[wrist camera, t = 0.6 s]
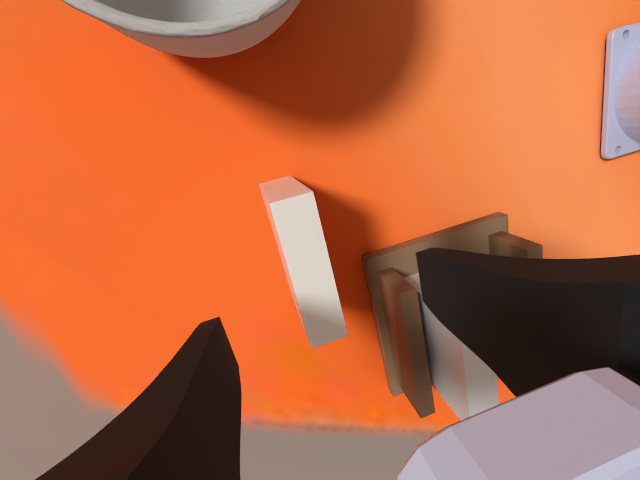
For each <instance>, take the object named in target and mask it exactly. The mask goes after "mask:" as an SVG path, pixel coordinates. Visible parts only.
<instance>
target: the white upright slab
mask: <svg viewBox="0 0 640 480" xmlns="http://www.w3.org/2000/svg"><path fill="white" fill-rule="evenodd" d="M259 186H260V189H261V193H262V196H263V199H264V203H265V206H266V209H267V213H268V216H269V220H270V223H271V226H272V230H273V233H274V237H275V240H276V243H277V247H278V250H279V253H280V257H281V260H282V264H283V267H284V270H285V274H286V277H287V280H288V284H289V287H290V291H291V294H292V297H293V299H294V302H295V305H296V308H297V310H298V313H299V316H300V319H301V321H302V324H303V327H304V330H305V332H306V335H307V338H308V341H309V343H310V346H311V349H313V348H315V347H318V346H321V345H324V344H327V343H329V342H332V341H335V340H338V339H341V338H343V337H346V336H348V333H347V329H346V325H345V321H344V317H343V313H342V309H341V304H340V300H339V296H338V292H337V288H336V284H335V280H334V276H333V271H332V267H331V263H330V259H329V255H328V251H327V247H326V243H325V238H324V234H323V230H322V226H321V222H320V218H319V214H318V210H317V205H316V201H315V197H314V193H313V191H312V190H310V189H309V188H308V187H306V186H305V185H303V184H302V183H300V182H299V181H297V180H296V179H294V178H293V177H292V176H287V177H283V178H280V179H276V180H272V181H268V182H265V183H261V184H259Z"/></svg>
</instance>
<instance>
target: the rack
mask: <svg viewBox="0 0 640 480" xmlns="http://www.w3.org/2000/svg"><path fill="white" fill-rule="evenodd" d="M428 248H446V249H454V250H461V251H468V252H475V253H482V254H490V255H498V256H508V257H518V258H534V259H542V245H540V244H537V243H535V242H532V241H529V240H526V239H523V238H520V237H518V236H515V235H512V234H509V233H508V217H507V214H504V213H500V212H497V213H494V214H491V215H488V216H485V217H481V218H478V219H475V220H472V221H469V222H466V223H463V224H460V225H456V226H453V227H450V228H447V229H444V230H441V231H438V232H434V233H431V234H428V235H425V236H422V237H419V238H416V239H412V240H409V241H406V242H403V243H400V244H397V245H394V246H390V247H387V248H384V249H381V250H378V251H375V252H372V253H368V254H365V255H362V260H363V265H364V270H365V275H366V280H367V285H368V290H369V294H370V299H371V304H372V309H373V314H374V319H375V323H376V328H377V333H378V338H379V343H380V348H381V353H382V357H383V362H384V367H385V372H386V377H387V382H388V387H389V390H390V391H391V393H392V395H393V396H397V395H399V394H402V393H405V395H406V397H407V398H408V400H409V401H410V403H411V404H412V406H413V407H414V409H415V410H416V412H417V413H418V415H419V416H420V418H423V417H425V416H428V415H430V414H433V413H435V408H434V401H433V394H432V388H431V381H430V374H429V368H428V361H427V354H426V348H425V341H424V335H423V328H422V321H421V315H420V308H419V301H418V295H417V288H416V287H414V286H413V285H412V284H411V283H410V282H408V281H407V280H406V279H405V278H404V277H407V276H410V275H413V274H416V273H419V272H418V265H417V258H416V252H419V251H422V250H425V249H428Z"/></svg>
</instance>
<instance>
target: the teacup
mask: <svg viewBox="0 0 640 480" xmlns="http://www.w3.org/2000/svg"><path fill="white" fill-rule="evenodd" d="M61 1H63V2H65V3H66V4H68V5H70V6H71V7H73V8H75V9H77V10H79V11H81V12H83V13H86V14H88V15H90V16H92V17H94V18H96V19H98V20H100V21H102V22H104V23H105V24H107V25H108V26H110V27H112V28H114V29H115V30H117V31H119V32H121V33H122V34H124V35H126V36H128V37H130V38H132V39H134V40H136V41H138V42H140V43H142V44H144V45H147V46H149V47H152V48H154V49H157V50H160V51H163V52H167V53H170V54H175V55H180V56H186V57H194V58H214V57H221V56H227V55H231V54H235V53H238V52H241V51H243V50H246V49H248V48H251V47H253V46H254V45H256V44H258V43H260V42H261V41H263V40H264V39H266V38H267V37H269V36H270V35H271V34H272V33H274V32H275V31H276V30H277V29H278V28H279V27H280V26H281V25H282V24H283V23H284V22H285V21H286V20H287V19H288V17H289V16H290V15H291V14H292V12H293V11H294V10H295V8H296V7H297V5H298V4H299V2H300V1H301V0H61Z"/></svg>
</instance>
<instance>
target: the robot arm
mask: <svg viewBox="0 0 640 480" xmlns="http://www.w3.org/2000/svg"><path fill="white" fill-rule="evenodd" d="M638 150H640V22H639V23H635V24H631V25H626V26H622V27H618V28H615V29H612V30H611V31H610V32H609V34H608V36H607V43H606V62H605V81H604V100H603V120H602V139H601V156H602V158H604V159H612V158H615V157H618V156H622V155H625V154H628V153H631V152H634V151H638ZM416 258H417V265H418V272H419V279H420V286H421V293H422V300H423V302H424V303H425V305H426V306H427V307H428V308H429V310H430V311H431V312H432V313H433V315H434V316H435V317H436V318H437V319H438V320H439V321H440V322H441V323H442V324H443V325H444V326H445V327H446V328H447V329H448V330H449V331H450V332H451V333H452V334H453V335H455V336H456V337H457V338H458V339H459V340H460V341H461V342H462V343H463V344H464V345H466V346H467V347H468V348H469V349H470V350H471V351H472V352H473V353H474V354H475V355H477V356H478V357H479V358H480V359H481V360H482V361H483V362H484V363H485V364H486V365H487V366H488V367H489V368H490V369H491V370H492V371H493V372H494V373H495V374H496V375H497V376H498V377H499V378H500V379H501V380H502V382H503V383H504V384H505V385H506V386H507V387H508V388H509V389H510V391H511V392H512V393H513V394H514V395H515V396H516V398H513V399H511V400H509V401H506V402H504V403H501V404H499V405H497V406H494V407H492V408H489V409H487V410H485V411H482V412H480V413H478V414H475V415H473V416H470V417H468V418H466V419H463V420H461V421H459V422H456V423H454V424H451V425H449V426H447V427H445V428H443V429H442V430H440V431H439V432H437V433H436V434H434V435H433V436H431V437H430V438H428V439H427V440H425V441H424V442H422V443H421V444H419V445H418V446H417V448H416V449H415V451H414V452H413V454H412V455H411V456H410V458H409V459H408V461H407V462H406V463H405V465H404V466H403V468H402V469H401V471H400V473H399V475H398V479H397V480H640V255H630V256H620V257H607V258H590V259H534V258H518V257H508V256H498V255H490V254H482V253H475V252H468V251H461V250H454V249H446V248H428V249H425V250H422V251H419V252H416ZM240 431H241V384H240V375H239V366H238V363H237V361H236V358H235V356H234V353H233V351H232V348H231V345H230V343H229V340H228V338H227V335H226V333H225V330H224V327H223V325H222V322H221V320H220V317H217V318H214V319H211V320H208V321H205V322H202V323H200V324H199V325H198V327H197V328H196V329H195V330H194V332H193V333H192V334H191V335H190V337H189V338H188V339H187V341H186V342H185V343H184V345H183V346H182V347H181V348H180V350H179V351H178V352H177V353H176V355H175V356H174V357H173V359H172V360H171V361H170V362H169V363H168V364H167V366H166V367H165V368H164V369H163V370H162V371H161V373H160V374H159V375H158V376H157V377H156V378H155V379H154V381H153V382H152V383H151V384H150V385H149V386H148V387H147V388H146V389H145V390H144V391H143V392H142V393H141V394H140V395H139V396H138V397H137V398H136V399H135V400H134V401H133V402H132V403H131V404H130V405H129V406H128V407H127V408H126V409H125V410H124V411H123V412H122V413H120V414H119V415H118V416H117V417H116V418H115V419H113V420H112V421H111V422H110V423H109V424H107V425H106V426H105V427H104V428H103V429H102V430H101V431H99V432H98V433H97V434H96V435H95V436H94V437H92V438H91V439H90V440H88V441H87V442H86V443H85V444H83V445H82V446H81V447H79V448H78V449H77V450H76V451H74V452H73V453H72V454H70V455H69V456H68V457H66V458H65V459H64V460H62V461H61V462H59V463H58V464H57V465H55V466H54V467H53V468H51V469H50V470H48V471H47V472H46V473H44V474H43V475H41V476H40V477H38V478H37V479H35V480H240Z"/></svg>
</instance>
